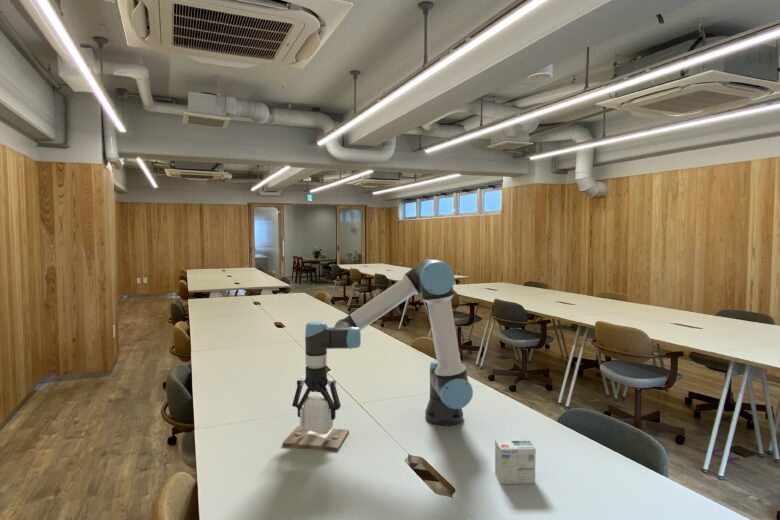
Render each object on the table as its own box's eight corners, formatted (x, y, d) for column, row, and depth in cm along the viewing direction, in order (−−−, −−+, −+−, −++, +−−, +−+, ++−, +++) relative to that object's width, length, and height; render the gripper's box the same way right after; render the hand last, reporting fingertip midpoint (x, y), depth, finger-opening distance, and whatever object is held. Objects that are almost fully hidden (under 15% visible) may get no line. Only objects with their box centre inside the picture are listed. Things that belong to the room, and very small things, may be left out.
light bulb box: (528, 472, 135) (528, 437, 134) (536, 484, 128) (536, 448, 128) (493, 472, 134) (494, 438, 134) (500, 485, 128) (500, 448, 127)
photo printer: (331, 431, 156) (331, 397, 155) (324, 435, 152) (324, 400, 151) (309, 425, 161) (309, 391, 160) (301, 429, 157) (301, 395, 156)
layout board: (348, 433, 162) (349, 429, 162) (338, 451, 148) (338, 446, 148) (297, 428, 165) (297, 425, 165) (282, 446, 151) (282, 442, 151)
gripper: (349, 364, 157) (349, 424, 158) (290, 360, 161) (290, 420, 162) (344, 370, 150) (344, 434, 151) (282, 366, 153) (282, 429, 155)
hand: (316, 426), depth 156 cm, fingers closed on photo printer, 10 cm apart
